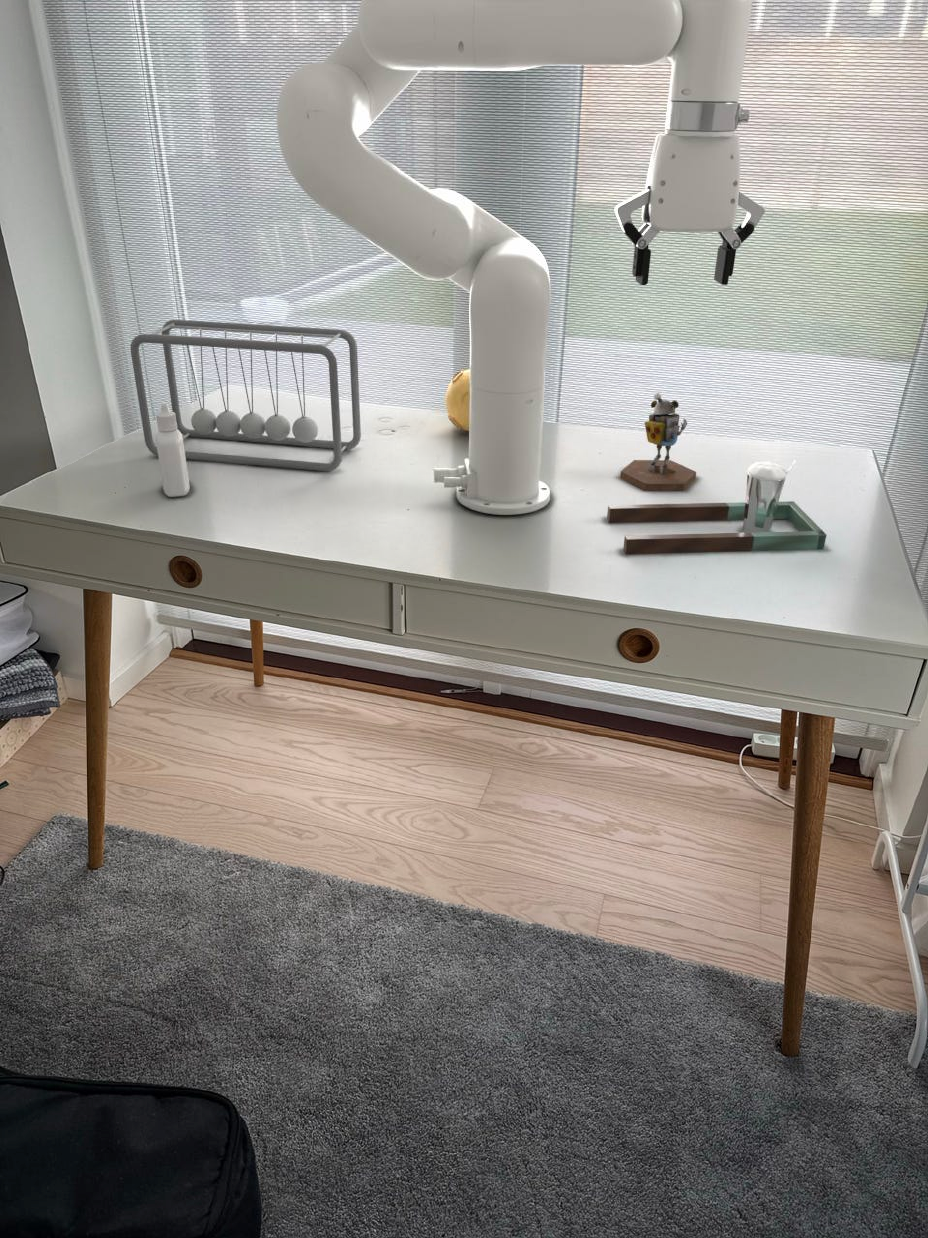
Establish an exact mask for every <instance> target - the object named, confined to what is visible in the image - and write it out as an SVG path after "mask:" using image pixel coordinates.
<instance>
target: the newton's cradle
mask: <svg viewBox="0 0 928 1238" xmlns="http://www.w3.org/2000/svg"><path fill="white" fill-rule="evenodd" d="M172 329H177V330H179V329H181V330H194V332H191V333H190V334H188V335H174V334H170V333H171V330H172ZM202 331H210V332H211V331H212V332H213V331H215V332H220V333H218V334H217V335H215V336H213V337H207V336H206V337H205V336H202ZM197 332H199V336H192V335H193V334H195V333H197ZM227 332H228V333H245V335H243V336H241V337H240V338H238V339H237V338H227ZM221 334H224V338H222V337H221V338H220V337H218V336H220V335H221ZM252 334H261V335H272V336H270V337H269V338H266V339H265V340H254V339H252ZM248 335H249V338H250V339H244V337H246V336H248ZM274 336H275V341H271V340H270V339H271V338H273V337H274ZM278 336H293V337H297V338H295V339H294V340H293V341H291V342H285V341H278ZM304 337H309V338H326V339H329V340H328V341H326V342H325V343H323V344H320V343H319V344H315V343H304V340H303V339H304ZM300 338H301V343H300V342H295V341H297V340H298V339H300ZM337 339H343V340H345V341H346V343H347V344H348V348H349V349H348V350H349V351H348V353H349V370H350V391H351V415H352V416H351V417H352V434H353V435H352V439H351V440H349V441H342V431H341V430H342V429H341V413H340V392H339V375H338V373H339V371H338V360H337V357H336V355H335V353H334V352H333V351H332V350H331V349H330V348H328V346H329V345H330V344H331V343H333V342H335V340H337ZM143 343H145V344H146V343H147V344H161V345H162V348H163V355H164V362H165V369H166V376H167V382H168V391H169V398H170V404H171V405H170V406H171V411H172V412H174V413H175V415H176V422H177V429H178V430H179V431H180V432H181V434H182V437H183V440H185V439H186V438H188V437H189V438H198V439H199V438H201V439H211V440H212V439H213V440H222V441H223V440H224V441H235V442H236V441H237V442H248V443H249V442H250V443H260V444H261V443H262V444H274V445H285V446H297V447H298V446H299V447H311V448H323V449H333V457H332V459H330V460H329V462H319V461H318V462H315V461H307V460H305V461H304V460H294V459H293V460H292V459H282V458H271V457H270V458H268V457H257V456H245V455H234V454H224V453H223V454H222V453H221V454H220V453H210V452H196V451H186V450H185V457H186V460H190V461H191V460H192V461H203V462H213V463H214V462H216V463H226V464H236V465H237V464H238V465H249V466H262V467H274V468H283V469H297V470H309V471H318V472H319V471H321V472H332V471H334V470H336V469H338V468H339V467H340V465H341V463H342V460H343V459H342V458H343V452H344V451H345V450H352V449H354V448H356V447H357V446H358V445H359V444H360V443H361V442H360V441H361V437H362V430H361V429H362V428H361V405H360V384H359V383H360V382H359V381H360V380H359V360H358V359H359V357H358V344H357V341H356V339H355V337H354V336H353V335H352V333H350V332H349V331H347V330H344V329H338V328H337V329H336V328H320V327H302V326H287V325H286V326H285V325H272V324H271V325H269V324H255V323H254V324H252V323H237V322H236V323H234V322H221V321H218V322H217V321H203V320H187V319H170V320H168V321H166V322H165V323H164V324H163V326H162V328H159V329H158V330H155V331H153V332H151V333H150V334H146V333H142V334H138V335H136V336H134V338H133V339H132V340H131V342H130V345H129V346H130V356H131V362H132V369H133V374H134V375H133V376H134V381H135V387H136V388H135V389H136V394H137V400H138V406H139V412H140V418H141V419H140V420H141V425H142V431H143V438H144V443H145V446H146V448H147V449H148V451H150V453H151V454H153V455H154V456H157V457H158V451H157V445H156V444H155V443H154V438H153V432H152V431H153V430H152V425H151V420H150V412H149V407H148V400H147V399H148V398H147V396H146V395H147V393H146V388H145V387H146V386H145V381H144V375H143V374H144V373H143V368H142V361H141V355H140V346H141V345H142V344H143ZM172 345H174V346H186V349H187V353H188V357H189V361H190V367H191V371H192V375H193V380H194V384H195V389H196V393H197V397H198V401H199V402H198V403H199V407H200V409H198V410H196V411H194V413H193V414H192V416H191V419H190V423H191V427H192V429H189V428H187V427H186V426H185V425H184V424H183V421H182V416H181V409H180V402H179V395H178V394H179V393H178V385H177V379H176V373H175V372H176V371H175V363H174V357H173V351H172ZM190 346H192V347H200V360H201V362H200V364H201V387H202V402H201V397H200V394H199V390H198V384H197V380H196V375H195V369H194V366H193V361H192V357H191V354H190V348H189V347H190ZM203 347H205V348H206V347H207V348H212V354H213V357H214V363H215V367H216V372H217V376H218V382H219V387H220V393H221V397H222V402H223V406H224V411H222V412H220V413H219V414H218V415H217V416H216V414H215V413H214V412H213V411H211V410H209V409H206V408H205V392H204V391H205V389H204V366H203V365H204V364H203ZM215 348H220V349H221V348H222V349H225V368H226V369H225V372H226V373H225V374H226V375H225V376H226V378H225V379H226V402H225V397H224V391H223V388H222V382H221V377H220V373H219V367H218V363H217V362H218V361H217V358H216V353H215ZM228 349H237V351H238V355H239V361H240V366H241V372H242V376H243V377H242V378H243V382H244V388H245V393H246V398H247V404H248V410H249V412H248V413H246V414H244V415H243V416H242V418H241V417H240V416H239V415H238V414H237V413H236V412H234V411H231V410H229V409H230V408H229V407H230V406H229V379H228V378H229V377H228V376H229V375H228ZM241 350H250V376H251V377H250V378H251V379H250V380H251V382H250V383H251V386H250V387H251V404H250V399H249V394H248V387H247V382H246V378H245V371H244V367H243V362H242V361H243V360H242V356H241ZM253 350H254V351H256V350H257V351H264V357H265V358H264V359H265V363H266V370H267V375H268V381H269V387H270V395H271V401H272V405H273V410H274V411H273V412H274V414H272V415H271V416H269V417H268V418H266V420H265V419H264V417H263V416H262V415H260V414H259V413H257V412H254V391H253V390H254V389H253V386H254V385H253V383H254V382H253ZM266 351H268V352H269V351H270V352H275V366H276V367H275V373H276V375H275V376H276V378H275V379H276V380H275V382H276V383H275V384H276V385H275V386H276V405H275V400H274V394H273V389H272V387H273V386H272V382H271V376H270V370H269V363H268V359H267V353H266ZM278 352H283V353H284V352H285V353H290V356H291V361H292V367H293V372H294V373H293V374H294V378H295V384H296V389H297V395H298V400H299V407H300V411H301V417H298V418H296V420H295V421H294V422H293V423H292V427H291V423H290V421H289V419H287V417H285V415H281V414H279V396H278V395H279V392H278V391H279V390H278V389H279V388H278V387H279V386H278V381H279V380H278ZM293 353H299V354H301V362H302V364H301V365H302V367H301V368H302V395H303V397H302V398H303V406H302V401H301V395H300V390H299V384H298V378H297V373H296V372H297V371H296V368H295V367H296V366H295V362H294V361H295V360H294V357H293ZM304 354H315V355H322V356H323V357H325V358H326V360H327V362H328V374H329V391H330V392H329V395H330V409H331V429H332V440H329V439H328V440H327V439H326V440H325V439H317V436H318V434H319V426H318V424H317V422H316V421H315V420H314V419H313V418H311V417H309V416H306V399H305V397H306V396H305V395H306V394H305V370H304V368H305V367H304ZM226 404H227V405H226ZM216 430H217V431H216ZM240 431H241V433H240ZM291 432H292V435H293V437H289V435H290V433H291ZM264 434H266V435H264Z"/></svg>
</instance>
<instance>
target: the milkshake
mask: <svg viewBox="0 0 928 1238" xmlns="http://www.w3.org/2000/svg"><path fill="white" fill-rule="evenodd" d="M796 462H797V458H795V459H794V461H793V462H792V464H791V465H790V467H789V468H787V471H786V469H785V468H784V467H783V465H780V464H777V463H775V462H773V461H756V462H753V463H752V464H751V465H750V466H749V467H748V468H747V476H746V489H745V490H746V491H745V501H744V502H745V511H744V520H743V523H742V525H743V526H742V533H749V532H751V533H753V532H772V531H771V530H772V526H773V523H774V521H775V519H774V516H775V512H776V509H777V505H778V502H780V497H781V494H782V491H783V488H784V486H785V485H784V484H785V481H786V478H787V474H788V473H789V472H790V470H791V469H792V467H793V466H794V464H795V463H796Z"/></svg>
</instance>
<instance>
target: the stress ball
mask: <svg viewBox="0 0 928 1238" xmlns="http://www.w3.org/2000/svg"><path fill="white" fill-rule="evenodd" d="M445 408H446V411H447V414H448V415H447V418H448V420H449V421H450V422H451V423H452V425H454V426H455V427H456V428H457V429H458V430H460V431H462V430H465V431H467V432H469V414H470V368H468V369H465V370H464V369H462V370H460V371H458V372H457V373H456V374H454V376H453V377H452V378H451V381H450V383H449V385H448V386H447V390H446V393H445Z"/></svg>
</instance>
